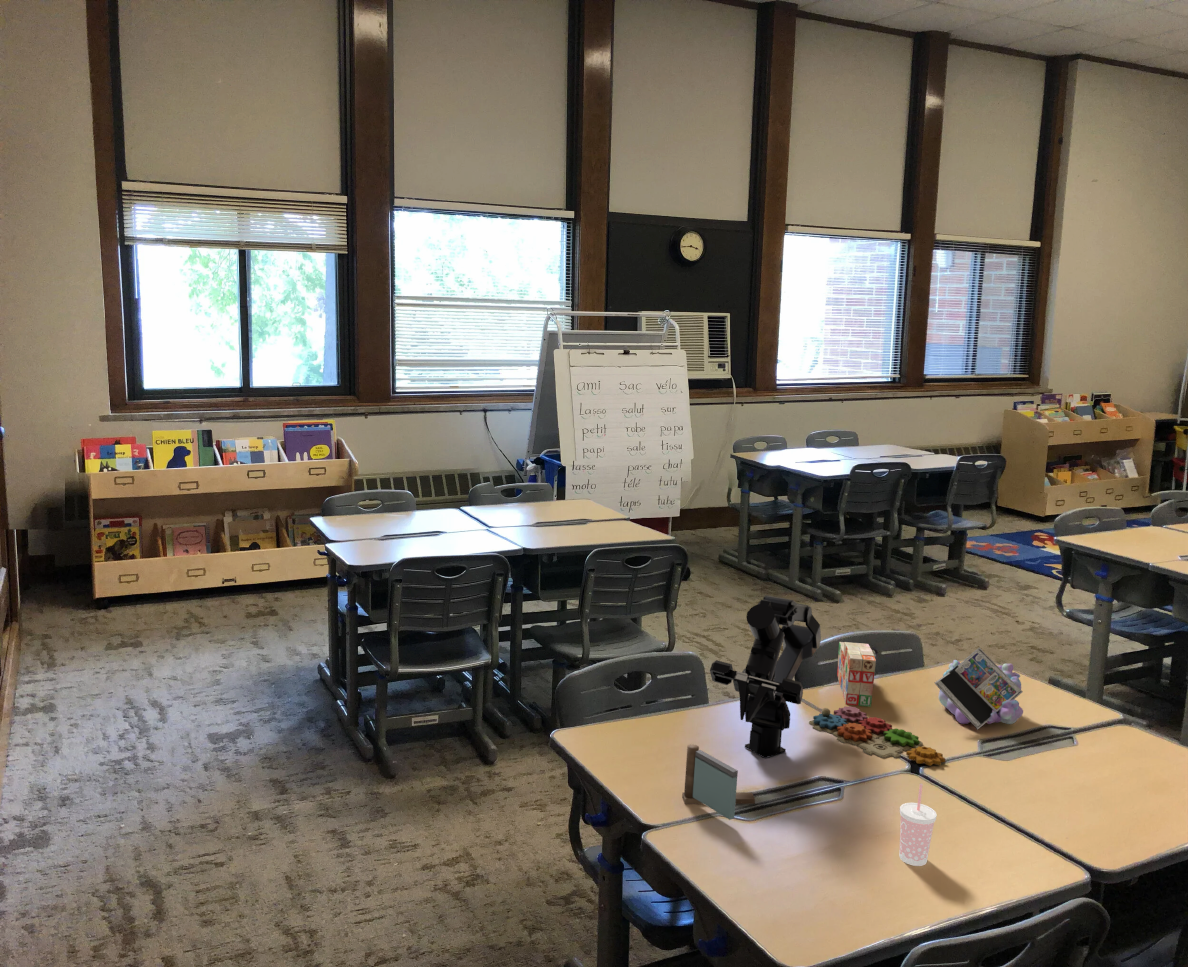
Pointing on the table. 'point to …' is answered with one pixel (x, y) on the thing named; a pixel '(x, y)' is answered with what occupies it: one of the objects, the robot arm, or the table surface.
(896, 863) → the table surface
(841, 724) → the gear puzzle
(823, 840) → the table surface
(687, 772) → the brown l-shaped piece
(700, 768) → the panel
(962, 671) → the bubbly comic picture frame
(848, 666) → the stack of blocks
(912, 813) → the beverage cup
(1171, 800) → the table surface
